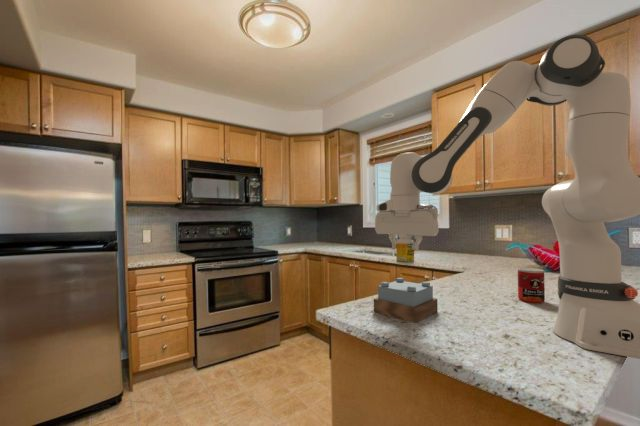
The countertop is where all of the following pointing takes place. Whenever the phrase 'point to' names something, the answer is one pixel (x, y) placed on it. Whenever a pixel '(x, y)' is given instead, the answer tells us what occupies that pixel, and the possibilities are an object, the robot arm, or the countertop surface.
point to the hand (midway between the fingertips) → (405, 249)
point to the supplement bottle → (404, 250)
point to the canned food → (531, 285)
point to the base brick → (406, 309)
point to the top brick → (405, 292)
